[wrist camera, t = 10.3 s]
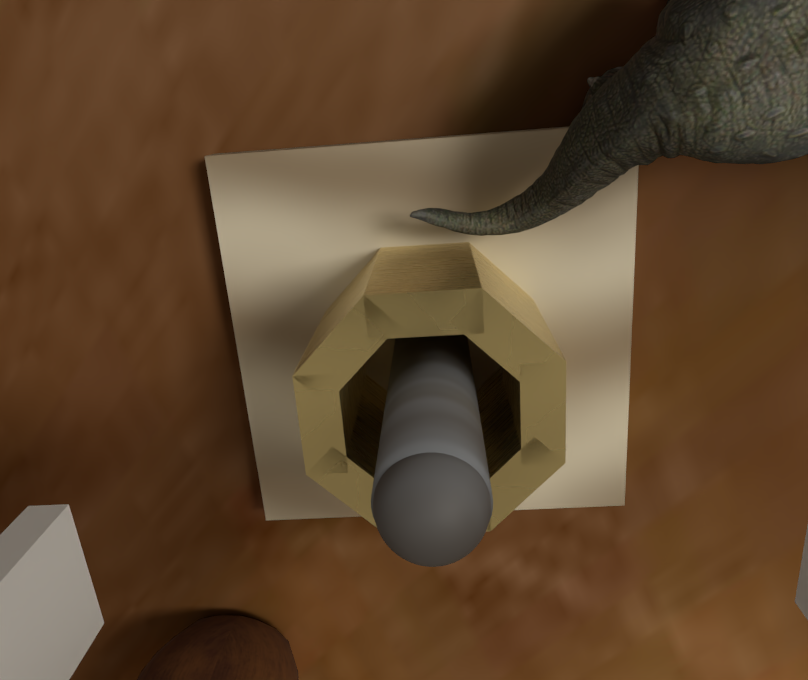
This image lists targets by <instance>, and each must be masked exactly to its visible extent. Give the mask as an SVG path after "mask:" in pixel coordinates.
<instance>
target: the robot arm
mask: <svg viewBox="0 0 808 680" xmlns="http://www.w3.org/2000/svg"><path fill="white" fill-rule="evenodd" d="M795 603H796V604H797V606H798V607H799V608H800V610H801V611H802V613H803V614H804V615H805V617H806V618H807V620H808V526H807V532H806V538H805V544H804V550H803V556H802V562H801V568H800V574H799V580H798V586H797V592H796V598H795ZM103 624H104V621H103V617H102V614H101V611H100V607H99V604H98V601H97V597H96V594H95V591H94V587H93V584H92V581H91V577H90V574H89V571H88V567H87V564H86V560H85V557H84V554H83V550H82V547H81V544H80V540H79V537H78V534H77V530H76V527H75V524H74V520H73V517H72V514H71V510H70V507H69V504H64V505H41V506H28V507H27V508H26V509H25V510H24V511H23V512H22V513H21V514H20V515H19V516H18V517H17V518H16V519H15V520H14V521H13V522H12V523H11V524H10V525H9V526H8V527H7V528H6V529H5V530H4V531H3V532H2V534H1V535H0V680H69V679H70V678H71V676H72V675H73V673H74V671H75V670H76V668H77V667H78V665H79V663H80V662H81V660H82V658H83V657H84V655H85V654H86V652H87V650H88V649H89V647H90V645H91V644H92V642H93V641H94V639H95V637H96V636H97V634H98V632H99V631H100V629H101V628H102V626H103Z"/></svg>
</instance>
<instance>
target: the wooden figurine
mask: <svg viewBox="0 0 808 680" xmlns="http://www.w3.org/2000/svg"><path fill="white" fill-rule="evenodd" d="M137 680H298V670H297V667H296V664H295V660H294V657H293V654H292V651H291V648H290V644H289V641H288V640H287V639H286V638H285V637H284V636H283V635H282V634H281V633H280V632H279V631H278V630H277V629H276V628H273V627H271V626H269V625H267V624H265V623H263V622H260V621H258V620H256V619H252V618H248V617H244V616H213V617H208V618H203V619H200V620H198V621H197V622H195V623H194V624H192V625H191V626H189V627H188V628H186V629H185V630H184V631H182V632H181V633H179V634H178V635H176V636H175V637H174V638H172V639H171V640H170V641H169V642H168V643H167V644H165V645H164V646H163V647H162V648H161V649H160V650H159V651H157V653H156V654H155V655H154V656H153V658H152V659H151V660H150V661H149V663H148V664H147V665H146V666H145V667H144V669H143V670H142V672H141V673H140V675H139V677H138V679H137Z"/></svg>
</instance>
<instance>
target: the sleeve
mask: <svg viewBox="0 0 808 680" xmlns="http://www.w3.org/2000/svg"><path fill="white" fill-rule="evenodd" d="M462 334H464V335H465V336H467V337H468V338H469V339H470V340H471V341H472V342H474V343H475V344H476V345H477V346H478V347H479V348H481V349H482V350H483V351H484V352H485V353H487V354H488V355H489V356H490V357H491V358H492V359H494V360H495V361H496V362H497V363H498V364H499V368H498V369H497V370H496V371H495V372H494V373H493V374H492V375H491V376H490V377H489V378H488V379H487V380H486V381H485V382H484V383H483V384H482V385H481V386H480V387H479V388H478V389H477V390H476V395H477V401H478V407H479V414H480V420H481V426H482V433H483V439H484V445H485V451H486V458H487V464H488V470H489V477H490V483H491V489H492V496H493V511H492V516H491V519H490V521H489V524H488V527H487V530H486V531H491V530H492V529H493V528H494V527H496V526H497V525H498V524H499V523H500V522H501V521H502V520H503V519H504V518H506V517H507V516H508V515H509V514H510V513H511V512H512V511H513V510H514V509H515V508H517V507H518V506H519V505H520V504H521V503H522V502H523V501H524V500H525V499H526V498H528V497H529V496H530V495H531V494H532V493H533V492H534V491H535V490H536V489H537V488H539V487H540V486H541V485H542V484H543V483H544V482H545V481H546V480H547V479H548V478H550V477H551V476H552V475H553V474H554V473H555V472H556V471H557V470H558V469H559V468H561V467H562V466H563V465H564V464H565V463H566V462H565V461H566V360H565V358H564V356H563V354H562V352H561V351H560V349H559V347H558V345H557V343H556V341H555V339H554V337H553V336H552V334H551V332H550V330H549V328H548V326H547V324H546V322H545V321H544V319H543V317H542V315H541V313H540V311H539V309H538V307H537V306H536V304H535V302H534V300H533V298H531V297H530V296H529V295H528V294H527V293H526V292H525V291H524V290H522V289H521V288H520V287H519V286H518V285H517V284H516V283H515V282H513V281H512V280H511V279H510V278H509V277H508V276H507V275H505V274H504V273H503V272H502V271H501V270H500V269H499V268H498V267H496V266H495V265H494V264H493V263H492V262H491V261H490V260H489V259H487V258H486V257H485V256H484V255H483V254H482V253H481V252H480V251H478V250H477V249H476V248H475V247H474V246H473V245H472V244H471V243H469V242H461V243H445V244H430V245H415V246H399V247H384V248H380V249H379V250H378V251H377V253H376V254H375V255H374V256H373V257H372V258H371V259H370V261H369V262H368V263H367V264H366V265H365V266H364V268H363V269H362V270H361V271H360V272H359V273H358V275H357V276H356V277H355V278H354V279H353V280H352V281H351V283H350V284H349V285H348V286H347V287H346V288H345V290H344V291H343V292H342V293H341V294H340V295H339V296H338V298H337V299H336V300H335V301H334V302H333V303H332V305H331V306H330V307H329V308H328V309H327V310H326V312H325V314H324V316H323V317H322V319H321V321H320V323H319V325H318V327H317V329H316V331H315V333H314V335H313V337H312V339H311V341H310V343H309V345H308V347H307V349H306V350H305V352H304V354H303V356H302V358H301V360H300V362H299V364H298V366H297V368H296V370H295V372H294V374H293V376H292V378H293V385H294V393H295V400H296V407H297V414H298V421H299V428H300V436H301V443H302V450H303V457H304V464H305V471H306V475H307V476H308V477H310V478H311V479H312V480H314V481H315V482H317V483H318V484H319V485H321V486H322V487H323V488H325V489H326V490H327V491H329V492H330V493H331V494H333V495H334V496H335V497H337V498H338V499H339V500H341V501H342V502H343V503H345V504H346V505H347V506H349V507H350V508H351V509H353V510H354V511H355V512H357V513H358V514H359V515H361V516H362V517H363V518H365V519H366V520H367V521H369V522H370V523H371V524H373V525H374V526H375V527H377V526H376V523H375V520H374V518H373V515H372V510H371V494H372V488H373V481H374V475H375V468H376V461H377V455H378V448H379V442H380V435H381V429H382V422H383V416H384V409H385V403H386V396H387V390H385V389H384V388H383V387H382V386H380V385H379V384H378V383H377V382H375V381H374V380H373V379H372V378H370V377H369V376H368V375H367V374H366V364H365V362H366V361H367V360H368V359H369V358H370V357H371V356H372V355H373V354H374V353H375V351H376V350H377V349H378V348H379V347H380V346H381V345H382V344H383V343H384V342H385V340H386V339H392V338H409V337H427V336H444V335H462Z"/></svg>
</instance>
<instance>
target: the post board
mask: <svg viewBox="0 0 808 680" xmlns="http://www.w3.org/2000/svg"><path fill="white" fill-rule="evenodd" d="M568 128H569V127H557V128H544V129H531V130H518V131H505V132H492V133H479V134H466V135H453V136H440V137H427V138H414V139H401V140H388V141H375V142H362V143H349V144H336V145H323V146H310V147H297V148H284V149H271V150H258V151H245V152H232V153H219V154H212V155H208V156H205V162H206V168H207V174H208V180H209V186H210V192H211V198H212V204H213V209H214V215H215V221H216V227H217V233H218V239H219V245H220V251H221V257H222V263H223V269H224V275H225V280H226V286H227V292H228V298H229V304H230V310H231V316H232V322H233V328H234V334H235V340H236V346H237V351H238V357H239V363H240V369H241V375H242V381H243V387H244V393H245V399H246V405H247V411H248V417H249V422H250V428H251V434H252V440H253V446H254V452H255V458H256V464H257V470H258V476H259V482H260V487H261V493H262V499H263V505H264V511H265V517H266V520H288V519H312V518H336V517H359V516H361V515H359V514H358V513H357V512H355V511H354V510H353V509H351V508H350V507H349V506H347V505H346V504H345V503H343V502H342V501H341V500H339V499H338V498H337V497H335V496H334V495H333V494H331V493H330V492H329V491H327V490H326V489H325V488H323V487H322V486H321V485H319V484H318V483H317V482H315V481H314V480H312V479H311V478H310V477H308V476H307V475H306V471H305V464H304V457H303V450H302V443H301V436H300V428H299V421H298V414H297V407H296V400H295V393H294V385H293V378H292V376H293V374H294V372H295V370H296V368H297V366H298V364H299V362H300V360H301V358H302V356H303V354H304V352H305V350H306V349H307V347H308V345H309V343H310V341H311V339H312V337H313V335H314V333H315V331H316V329H317V327H318V325H319V323H320V321H321V319H322V317H323V316H324V314H325V312H326V310H327V309H328V308H329V307H330V306H331V305H332V303H333V302H334V301H335V300H336V299H337V298H338V296H339V295H340V294H341V293H342V292H343V291H344V290H345V288H346V287H347V286H348V285H349V284H350V283H351V281H352V280H353V279H354V278H355V277H356V276H357V275H358V273H359V272H360V271H361V270H362V269H363V268H364V266H365V265H366V264H367V263H368V262H369V261H370V259H371V258H372V257H373V256H374V255H375V254H376V253H377V251H378V250H379V249H380V248H384V247H399V246H415V245H430V244H445V243H461V242H469V243H471V244H472V245H473V246H474V247H475V248H476V249H477V250H478V251H480V252H481V253H482V254H483V255H484V256H485V257H486V258H487V259H489V260H490V261H491V262H492V263H493V264H494V265H495V266H496V267H498V268H499V269H500V270H501V271H502V272H503V273H504V274H505V275H507V276H508V277H509V278H510V279H511V280H512V281H513V282H515V283H516V284H517V285H518V286H519V287H520V288H521V289H522V290H524V291H525V292H526V293H527V294H528V295H529V296H530V297H531V298H533V300H534V302H535V304H536V306H537V307H538V309H539V311H540V313H541V315H542V317H543V319H544V321H545V322H546V324H547V326H548V328H549V330H550V332H551V334H552V336H553V337H554V339H555V341H556V343H557V345H558V347H559V349H560V351H561V352H562V354H563V356H564V358H565V360H566V461H565V462H566V463H565V464H564V465H563V466H562V467H561V468H559V469H558V470H557V471H556V472H555V473H554V474H553V475H552V476H551V477H550V478H548V479H547V480H546V481H545V482H544V483H543V484H542V485H541V486H540V487H539V488H537V489H536V490H535V491H534V492H533V493H532V494H531V495H530V496H529V497H528V498H526V499H525V500H524V501H523V502H522V503H521V504H520V505H519V506H518V507H517V508H515V509H514V510H526V509H550V508H574V507H597V506H621V505H625V482H626V458H627V434H628V409H629V385H630V361H631V336H632V312H633V288H634V263H635V239H636V215H637V190H638V166H639V165H637V166H635V167H633V168H631V169H629V170H628V171H627V172H626V173H625V174H624V175H621V176H619V178H618V179H616V180H615V181H614V182H612V183H611V184H610V185H608V186H607V187H605V188H603V189H601V190H599V191H597V192H596V193H595V194H594V196H593V197H591V198H589V199H587V200H586V201H585V202H584V203H583V204H581V205H579V206H577V207H575V208H573V209H571V210H570V211H568V212H566V213H565V214H563V215H560V216H559V217H557V218H555V219H553V220H551V221H549V222H547V223H544V224H542V225H540V226H538V227H535V228H532V229H529V230H525V231H522V232H519V233H512V234H505V235H484V236H478V235H468V234H463V233H459V232H454V231H451V230H449V229H446V228H443V227H438V226H435V225H432V224H429V223H427V222H424V221H422V220H419V219H416V218H412V217H410V214H411V212H413V211H417V210H420V209H425V208H442V209H447V210H451V211H457V212H466V213H473V212H480V211H487V210H490V209H492V208H495V207H497V206H500V205H502V204H503V203H505V202H507V201H509V200H510V199H512V198H513V197H515V196H517V195H520V194H521V193H522V192H524V191H525V190H526V189H527V188H528V187H529V186H531V185H532V184H533V183H534V182H535V180H536V179H538V178H539V177H540V176H541V175H542V174H543V173H544V171H545V170H546V168H547V167H548V165H549V163H550V160H551V159H552V157H553V155H554V153H555V151H556V149H557V148H558V147H559V145H560V144H561V142H562V139H563V137H564V136H565V134H566V132H567V130H568ZM365 364H366V374H367V375H368V376H369V377H370V378H372V379H373V380H374V381H375V382H377V383H378V384H379V385H380V386H382V387H383V388H384V389H385V390H387V396H386V403H385V409H384V416H383V422H382V429H381V435H380V442H379V448H378V455H377V461H376V468H375V475H374V481H373V488H372V494H371V510H372V515H373V518H374V520H375V523H376V526H377V529H378V531H379V533H380V535H381V537H382V538H383V540H384V541H385V543H386V544H387V545H388V546H389V547H390V548H391V550H392V551H394V552H395V553H396V554H397V555H399V556H400V557H402V558H403V559H405V560H407V561H409V562H411V563H414V564H417V565H421V566H429V567H436V566H444V565H448V564H451V563H454V562H456V561H458V560H460V559H462V558H463V557H465V556H466V555H468V554H469V553H470V552H471V551H472V550H473V549H474V548H475V547H476V546H477V545H478V544H479V542H480V541H481V539H482V538H483V536H484V534H485V532H486V530H487V527H488V524H489V521H490V519H491V516H492V511H493V496H492V489H491V483H490V477H489V470H488V464H487V458H486V451H485V445H484V439H483V433H482V426H481V420H480V414H479V407H478V401H477V395H476V390H477V389H478V388H479V387H480V386H481V385H482V384H483V383H484V382H485V381H486V380H487V379H488V378H489V377H490V376H491V375H492V374H493V373H494V372H495V371H496V370H497V369H498V368H499V364H498V363H497V362H496V361H495V360H494V359H492V358H491V357H490V356H489V355H488V354H487V353H485V352H484V351H483V350H482V349H481V348H479V347H478V346H477V345H476V344H475V343H474V342H472V341H471V340H470V339H469V338H468V337H467V336H465V335H464V334H462V335H444V336H427V337H409V338H392V339H386V340H385V342H384V343H383V344H382V345H381V346H380V347H379V348H378V349H377V350H376V351H375V353H374V354H373V355H372V356H371V357H370V358H369V359H368V360H367V361H366V362H365Z"/></svg>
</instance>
